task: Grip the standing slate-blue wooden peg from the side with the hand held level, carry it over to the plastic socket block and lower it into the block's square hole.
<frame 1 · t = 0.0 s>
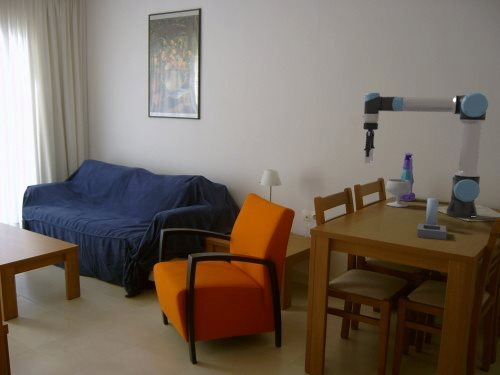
hand: (368, 161, 256), 28 cm above the table, tool pointing down, fingers open, 13 cm apart
peg: (430, 227, 229), on the table
socket block: (431, 235, 215), on the table
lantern: (405, 200, 299), on the table
chalice: (397, 205, 281), on the table
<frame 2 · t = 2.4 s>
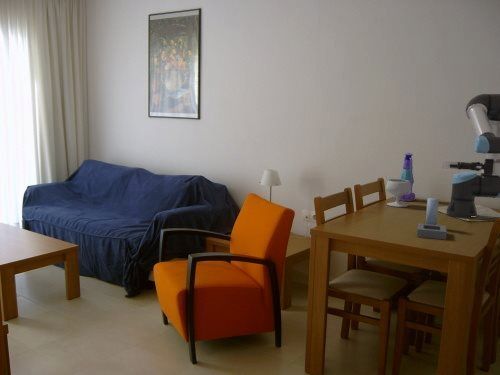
hand: (443, 164, 226), 30 cm above the table, tool horizontal, fingers open, 13 cm apart
nothing on the table moved.
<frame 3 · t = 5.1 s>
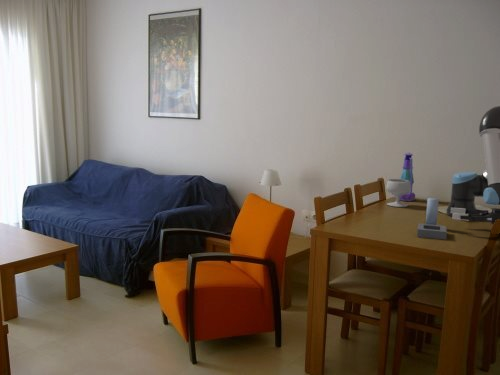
hand: (451, 213, 224), 8 cm above the table, tool horizontal, fingers open, 13 cm apart
nothing on the table moved.
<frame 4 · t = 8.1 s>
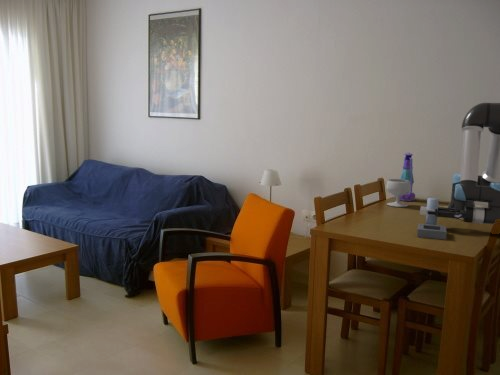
hand: (420, 210, 229), 8 cm above the table, tool horizontal, fingers closed on peg, 5 cm apart
peg: (430, 227, 229), on the table, touching gripper
everything else where it was.
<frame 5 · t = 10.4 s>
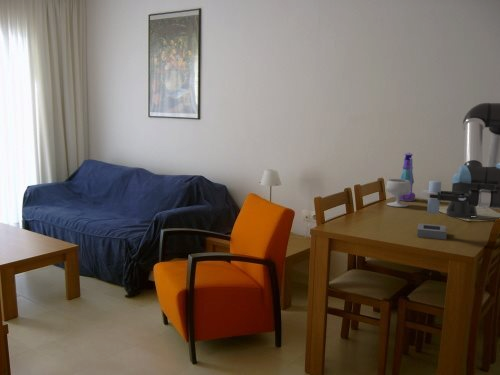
hand: (421, 194, 214), 18 cm above the table, tool horizontal, fingers closed on peg, 5 cm apart
peg: (432, 212, 213), point 10 cm above the table, touching gripper
everything else where it was.
when the fingers open (9 cm above the table, at t = 12.7 s): peg drops 1 cm, resting in socket block.
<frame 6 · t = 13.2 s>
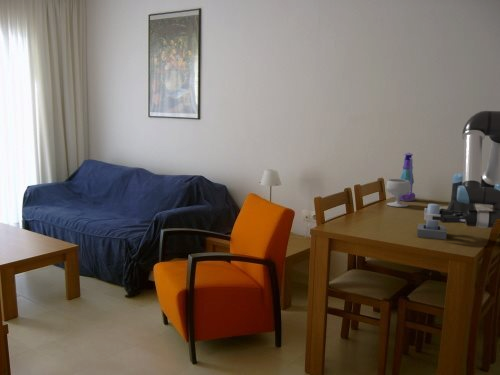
hand: (424, 213, 214), 10 cm above the table, tool horizontal, fingers open, 12 cm apart
peg: (431, 235, 215), resting in socket block
everything else where it was.
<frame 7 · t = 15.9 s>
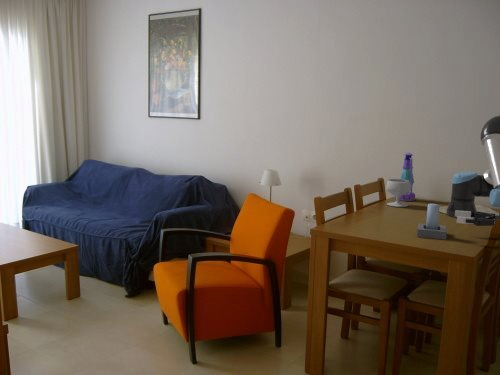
hand: (455, 216, 210), 10 cm above the table, tool horizontal, fingers open, 13 cm apart
nothing on the table moved.
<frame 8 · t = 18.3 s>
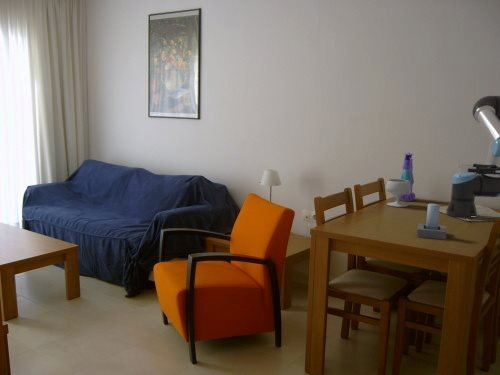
hand: (458, 167, 217), 30 cm above the table, tool horizontal, fingers open, 13 cm apart
nothing on the table moved.
at the end: peg 0.0 cm off-centre on the socket block, point 0.0 cm above the socket block's base; peg tilted 0°; the gripper is holding nothing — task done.
